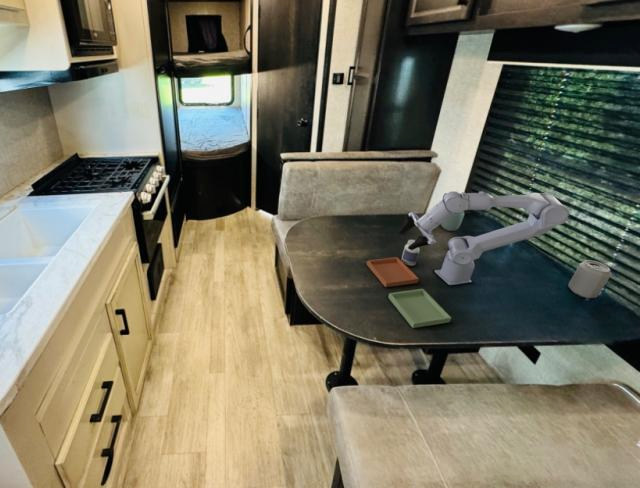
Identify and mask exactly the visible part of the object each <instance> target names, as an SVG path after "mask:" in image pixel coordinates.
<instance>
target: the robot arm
mask: <svg viewBox="0 0 640 488" xmlns="http://www.w3.org/2000/svg"><path fill="white" fill-rule="evenodd" d="M493 207H495V208H512V209H513V208H514V209H515V208H516V209H524V210H526V211H528V212H529V215H528V217H527V219H526V220H524V221H520V222H517V223H514V224H511V225H508V226H506V227H502V228H499V229H495V230H493V231H489V232H486V233H483V234H479V235H477V236H471V235H464V236H455V237H454V236H453V237H451V238H450V239H449V240H448V241H447V247H448V249H449V250H448V251H447V252H446V254H445V256H444V259H443V263H442V266H441V269H435V270H434V273H435V274H436V275H438V276H439V278H440V279H442V280H443V281H444V282H445V283H446V284H447V285H448V286H454V285H462V284H469V283H472V280H471V278H472V275H473V273H474V270H475V268H476V267H475V266H476V265H475V260H477V259H480V258H481V256H482V254H483V253H484V252H487V251H491V250H494V249H497V248H500V247H505V246H508V245H511V244H514V243H518V242H522V241H524V240H529V239H531V238H535V237H539V236H542V235H545V234H547V233H549V232H550V231H551V230H553V229H554V228H556V226H560V225H563V224H566V222H567V220H568V218H569V215H570V210H569V209H568V207H566V206H565V205H564V204H562V203H561V202H560V201H559V200H558V199H557V198H556V197H555V195H553V194H552V193H549V192H540V193H539V192H532V193H527V194H513V195H511V194H510V195H493V196H492V195H491V194H489V192H484V191H478V192H467V193H466V191H462V192H461V193H460V192H458V191H448V192H447V193H446V192H445V193H443V195H442V199H441V200H440V201H439V202H437V204H435V205H433V207H432V208H430V209H429V210H428V211H427V212H425V213H424V214H423V215H422V216H421V217H419V215H417V213H416V212H415V211H410V213H408V216H405V218H404V220H403V224H402V225H401V227H400V229H399V230H398V232H397V233H398V234H399V235H405V233H407V232H409V230H411V229H413V228H414V227H417V228H418V230H419V231H420V233H421V234H422V235H418V236H417V238H416V239H415V240H416V241H415V242H414V243H412V244H411V245H410V246H409V247H408V249H410V250H413V249H416V248H418V247H419V248H422V247H425V246H432V245H434V244H435V243H437V241H436V239H435V237H434V235H433V233H432V231H433V230H434V229H436V228H437V227H438V226H439V225H441V223H442V222H443V221H445V220H446V219H447V218H448V217H450V216H451V215H452V214H453V213H460V212H462V211H464V212H465V211H489V210H490V209H492V208H493Z"/></svg>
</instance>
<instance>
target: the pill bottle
mask: <svg viewBox="0 0 640 488" xmlns="http://www.w3.org/2000/svg"><path fill="white" fill-rule="evenodd" d="M415 241H416V239H408V241H407V243H406V244H405V245H404V249H403V251H402V255H401V259H400V260H401V261H402V262H403V263H404V264H405V265H406V266H409V267H413V266H415V265H417V261H418V258H419V255H420V251H421V249H420V247H418V248H416V249H413V250H410V249H408V247H409V246H410V245H411V244H412V243H414V242H415Z"/></svg>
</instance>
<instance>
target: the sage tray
mask: <svg viewBox="0 0 640 488" xmlns="http://www.w3.org/2000/svg"><path fill="white" fill-rule="evenodd" d="M388 300H389V301H390V302H391V303H392V304H393V306H394V307H395V308H396V309H397V311H398V312H399V314H401V315H402V317H403V318H404V319H405V320H406V322H407V323H408V324H409V326H411V328H412V329H415V328H422V327H428V326H434V325H440V324H447V323H450V322H451V320H452V316H451V315H449V313H448V312H447V311H445V309H444V308H443V307H442V306H440V304H438V302H437V301H436V300H435V299H434V298H433V297H432V296H431V295H430V294H429V293H428V292H427V291H426V290H425V289H424V288H418V289H409V290H402V291H395V292H390V293H389V294H388Z"/></svg>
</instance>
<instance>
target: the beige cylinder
mask: <svg viewBox="0 0 640 488" xmlns="http://www.w3.org/2000/svg"><path fill="white" fill-rule="evenodd" d="M611 276H612V273H611V268H610V267H609V266H608V265H605V264H604V263H602V262H599V261H596V260H592V259H591V260H590V259H586V260H584V261H583V262H581V263H579V265H578V266H577V268H576V270H575V272H574V274H573V276H572V277H571V279H570V280H569V282H568V285H567V286H568V288H569V289H570V291H571V292H573V293H574V294H576V295H578V296H579V297H583V298H586V299H595V298H597V297H598V296H599V295H600V293H601V292H602V290H603V289H604V288H605V286H606V284H607V283H608V281H609V280H610V278H611Z"/></svg>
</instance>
